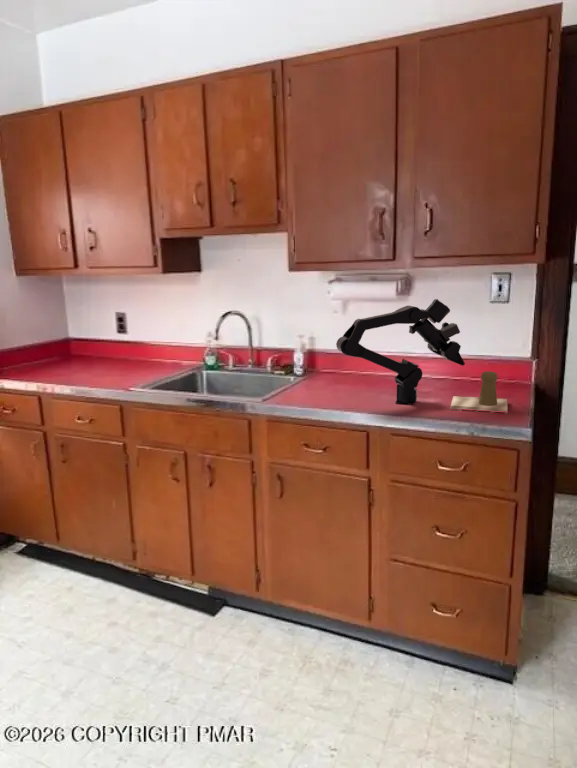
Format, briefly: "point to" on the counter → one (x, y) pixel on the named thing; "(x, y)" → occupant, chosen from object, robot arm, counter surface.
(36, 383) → the counter surface
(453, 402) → the birch board
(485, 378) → the cork
